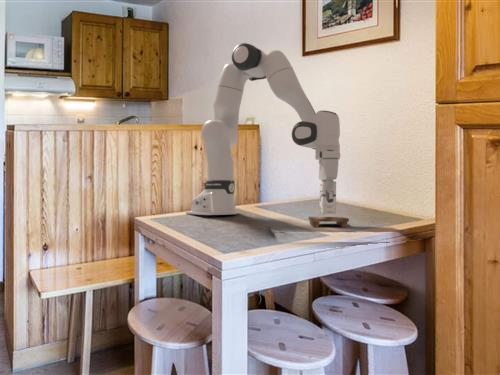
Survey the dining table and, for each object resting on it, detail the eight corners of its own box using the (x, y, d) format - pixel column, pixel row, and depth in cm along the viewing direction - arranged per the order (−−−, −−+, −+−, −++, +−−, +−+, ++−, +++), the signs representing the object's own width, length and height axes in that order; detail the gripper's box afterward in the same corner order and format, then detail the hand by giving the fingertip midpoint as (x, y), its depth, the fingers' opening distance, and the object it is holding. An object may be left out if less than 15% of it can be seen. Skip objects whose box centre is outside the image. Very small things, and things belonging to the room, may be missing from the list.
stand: (312, 227, 158) (312, 218, 158) (308, 224, 169) (308, 216, 169) (348, 227, 158) (348, 218, 158) (342, 224, 169) (342, 216, 169)
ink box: (319, 212, 168) (319, 181, 168) (332, 212, 168) (332, 181, 168) (322, 214, 159) (322, 181, 159) (336, 214, 159) (336, 181, 159)
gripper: (315, 156, 174) (314, 191, 174) (323, 152, 154) (322, 192, 154) (331, 156, 174) (331, 192, 174) (341, 152, 153) (340, 192, 154)
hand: (327, 192), depth 164 cm, fingers closed on ink box, 8 cm apart
